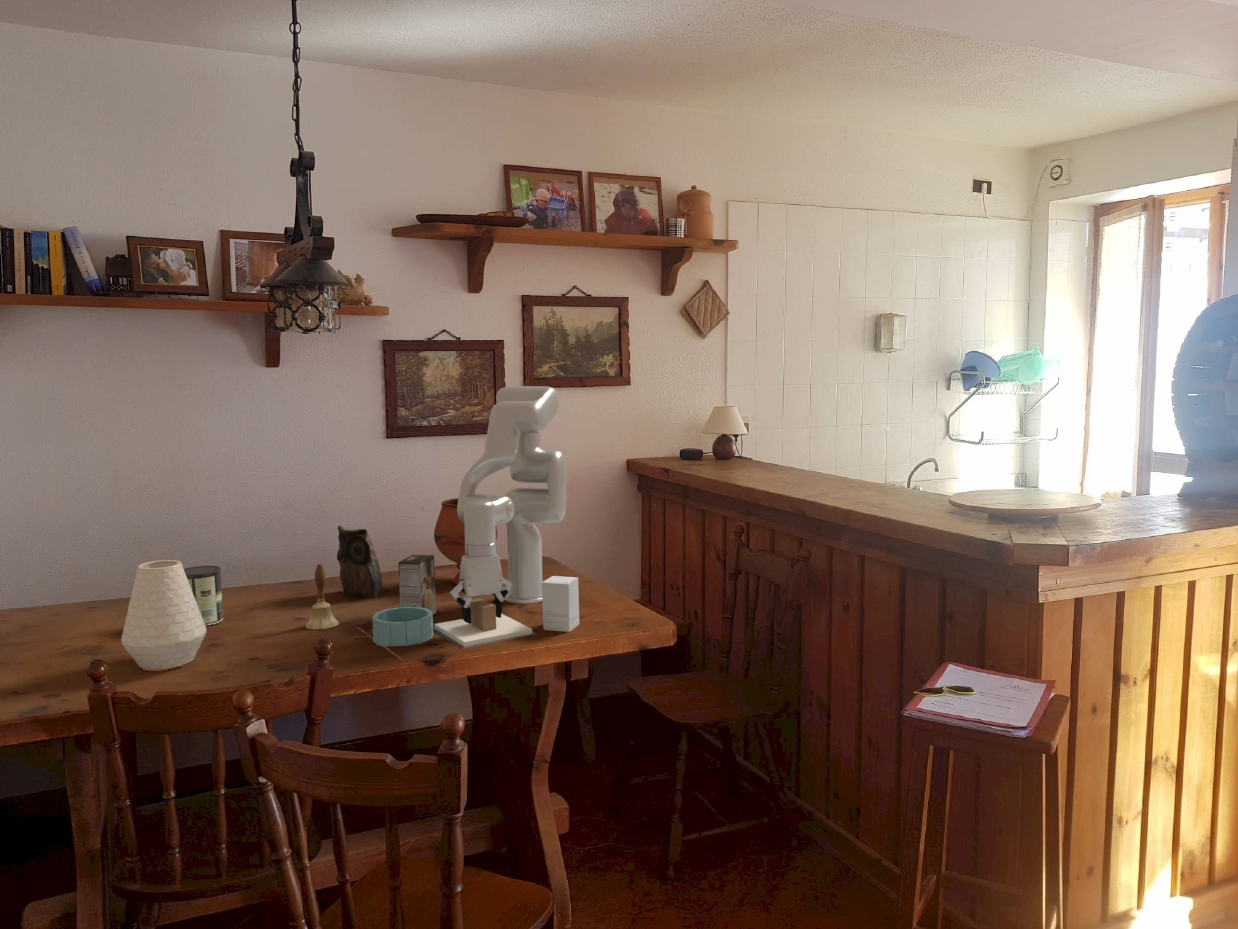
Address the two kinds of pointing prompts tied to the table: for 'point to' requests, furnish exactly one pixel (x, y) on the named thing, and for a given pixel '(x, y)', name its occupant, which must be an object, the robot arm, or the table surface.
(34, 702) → the table surface
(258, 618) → the table surface
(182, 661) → the vase
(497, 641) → the mat
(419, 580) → the coffee box
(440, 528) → the goblet
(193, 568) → the coffee can
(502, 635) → the lid
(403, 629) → the bowl
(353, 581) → the owl
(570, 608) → the supplement box
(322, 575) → the hand bell
